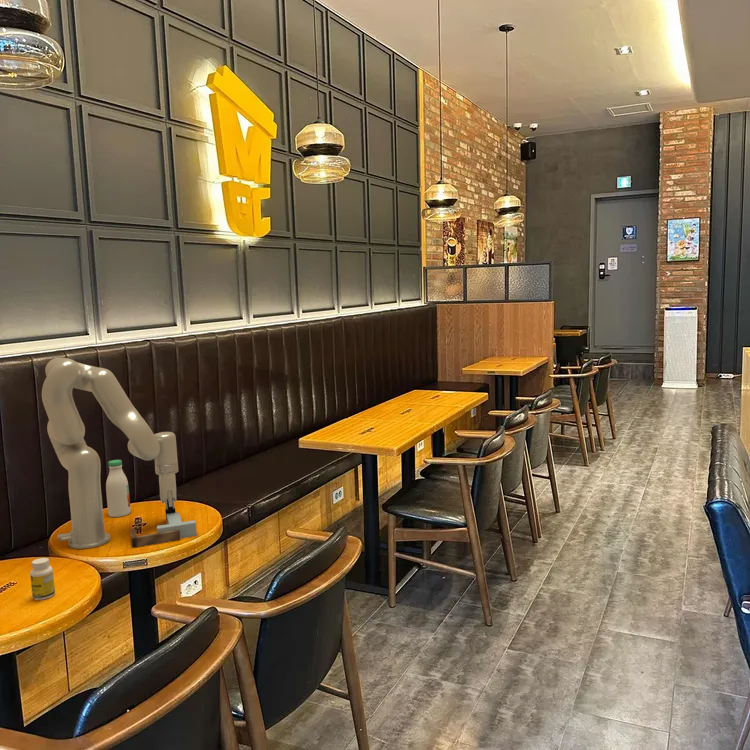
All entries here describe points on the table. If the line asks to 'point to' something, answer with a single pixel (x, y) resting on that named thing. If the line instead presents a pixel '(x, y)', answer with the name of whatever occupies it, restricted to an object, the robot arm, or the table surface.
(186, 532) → the t block
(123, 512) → the milk bottle
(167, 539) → the corner fence
